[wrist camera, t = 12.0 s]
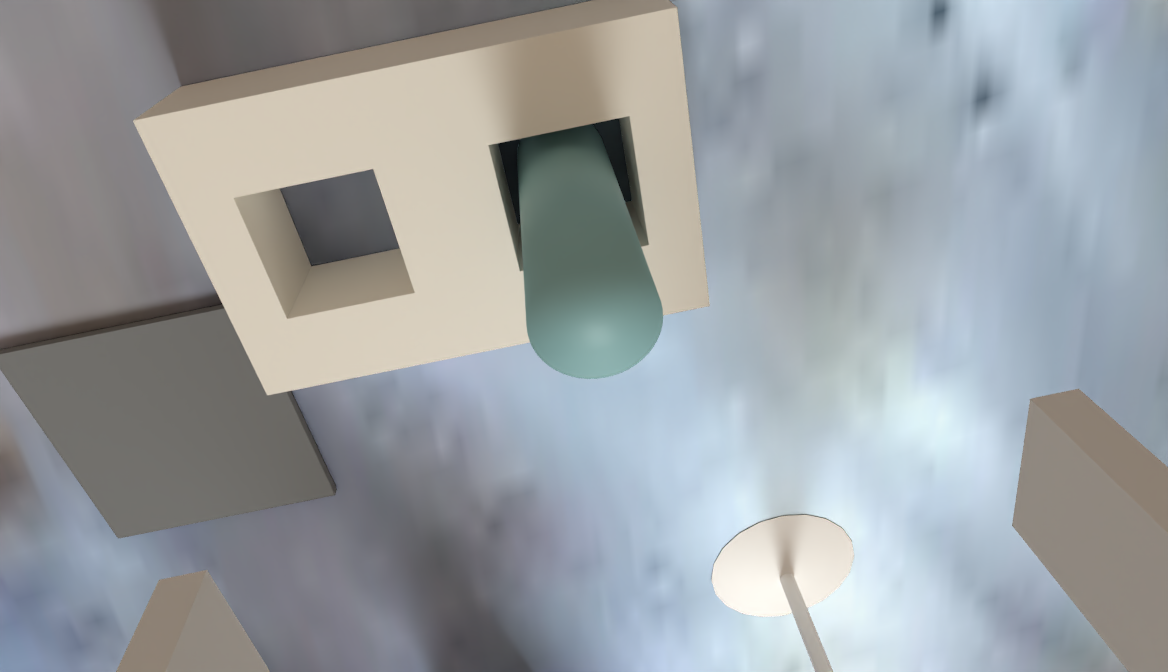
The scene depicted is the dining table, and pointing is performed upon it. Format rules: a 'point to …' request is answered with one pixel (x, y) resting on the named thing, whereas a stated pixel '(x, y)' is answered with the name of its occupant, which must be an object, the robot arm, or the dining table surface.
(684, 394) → the dining table surface
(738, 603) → the wineglass
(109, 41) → the dining table surface
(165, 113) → the hole block
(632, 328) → the peg
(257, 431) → the mat
